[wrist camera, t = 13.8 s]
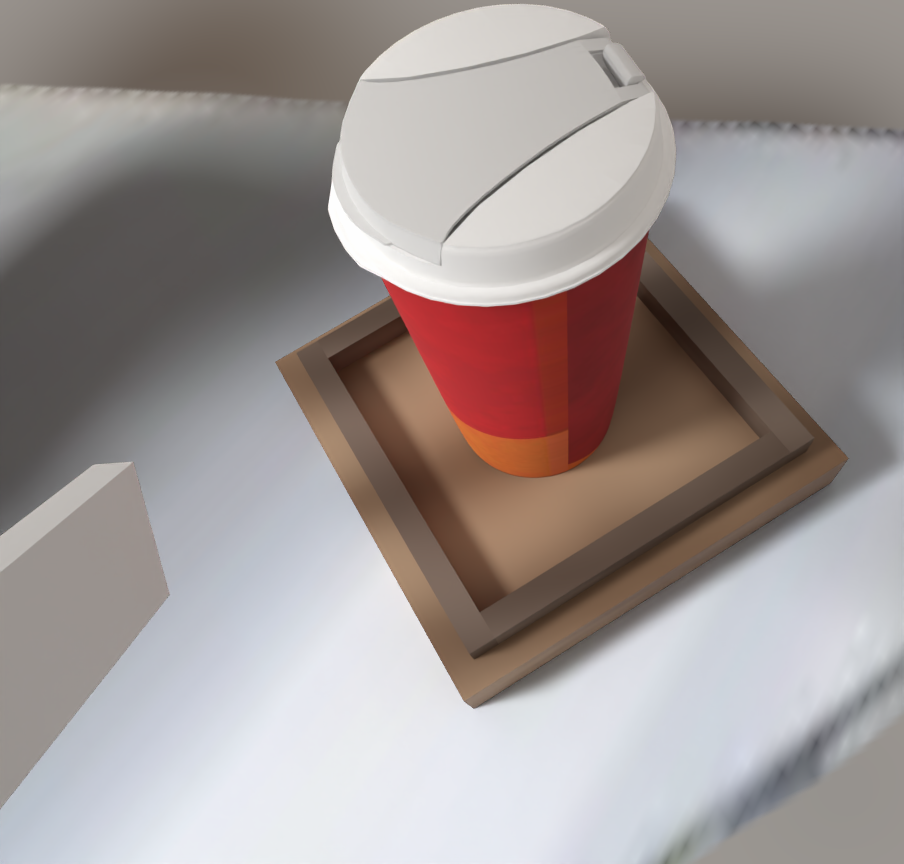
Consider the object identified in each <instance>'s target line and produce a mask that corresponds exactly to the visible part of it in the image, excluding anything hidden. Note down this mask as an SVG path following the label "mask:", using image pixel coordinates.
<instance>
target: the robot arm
mask: <svg viewBox="0 0 904 864" xmlns="http://www.w3.org/2000/svg"><path fill="white" fill-rule="evenodd" d="M169 595H170V594H169V590H168V587H167V583H166V579H165V576H164V572H163V568H162V565H161V561H160V557H159V554H158V550H157V546H156V543H155V539H154V535H153V532H152V528H151V524H150V521H149V517H148V513H147V510H146V506H145V502H144V499H143V495H142V491H141V488H140V484H139V480H138V477H137V473H136V469H135V466H134V462H123V463H108V464H94V465H93V466H91V467H90V468H89V469H87V470H86V471H85V472H83V473H82V474H81V475H79V476H78V477H77V478H75V479H74V480H73V481H72V482H70V483H69V484H68V485H66V486H65V487H64V488H62V489H61V490H60V491H58V492H57V493H56V494H55V495H53V496H52V497H51V498H49V499H48V500H47V501H45V502H44V503H43V504H41V505H40V506H39V507H38V508H36V509H35V510H34V511H32V512H31V513H30V514H28V515H27V516H26V517H24V518H23V519H22V520H21V521H19V522H18V523H17V524H15V525H14V526H13V527H11V528H10V529H9V530H7V531H6V532H5V533H4V534H2V535H1V536H0V809H1V808H2V806H3V805H4V804H5V803H6V801H7V800H8V799H9V797H10V796H11V795H12V794H13V792H14V791H15V790H16V789H17V787H18V786H19V785H20V784H21V782H22V781H23V780H24V779H25V777H26V776H27V775H28V773H29V772H30V771H31V770H32V768H33V767H34V766H35V765H36V763H37V762H38V761H39V760H40V758H41V757H42V756H43V754H44V753H45V752H46V751H47V749H48V748H49V747H50V746H51V744H52V743H53V742H54V741H55V739H56V738H57V737H58V736H59V734H60V733H61V732H62V730H63V729H64V728H65V727H66V725H67V724H68V723H69V722H70V720H71V719H72V718H73V717H74V715H75V714H76V713H77V711H78V710H79V709H80V708H81V706H82V705H83V704H84V703H85V701H86V700H87V699H88V698H89V696H90V695H91V694H92V693H93V691H94V690H95V689H96V687H97V686H98V685H99V684H100V682H101V681H102V680H103V679H104V677H105V676H106V675H107V674H108V672H109V671H110V670H111V668H112V667H113V666H114V665H115V663H116V662H117V661H118V660H119V658H120V657H121V656H122V655H123V653H124V652H125V651H126V650H127V648H128V647H129V646H130V644H131V643H132V642H133V641H134V639H135V638H136V637H137V636H138V634H139V633H140V632H141V631H142V629H143V628H144V627H145V625H146V624H147V623H148V622H149V620H150V619H151V618H152V617H153V615H154V614H155V613H156V612H157V610H158V609H159V608H160V607H161V605H162V604H163V603H164V601H165V600H166V599H167V598H168V596H169Z"/></svg>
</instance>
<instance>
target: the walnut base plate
mask: <svg viewBox="0 0 904 864" xmlns="http://www.w3.org/2000/svg"><path fill="white" fill-rule="evenodd" d="M275 363H276V364H277V366H278V368H279V370H280V372H281V373H282V375H283V377H284V379H285V381H286V382H287V384H288V386H289V388H290V390H291V391H292V393H293V395H294V397H295V399H296V400H297V402H298V404H299V406H300V408H301V409H302V411H303V413H304V415H305V417H306V418H307V420H308V422H309V424H310V425H311V427H312V429H313V431H314V433H315V434H316V436H317V438H318V440H319V442H320V443H321V445H322V447H323V449H324V451H325V452H326V454H327V456H328V458H329V460H330V461H331V463H332V465H333V467H334V469H335V470H336V472H337V474H338V476H339V478H340V479H341V481H342V483H343V485H344V487H345V488H346V490H347V492H348V494H349V496H350V497H351V499H352V501H353V503H354V505H355V506H356V508H357V510H358V512H359V514H360V515H361V517H362V519H363V521H364V523H365V524H366V526H367V528H368V530H369V532H370V533H371V535H372V537H373V539H374V541H375V542H376V544H377V546H378V548H379V549H380V551H381V553H382V555H383V557H384V558H385V560H386V562H387V564H388V566H389V567H390V569H391V571H392V573H393V575H394V576H395V578H396V580H397V582H398V584H399V585H400V587H401V589H402V591H403V593H404V594H405V596H406V598H407V600H408V602H409V603H410V605H411V607H412V609H413V611H414V612H415V614H416V616H417V618H418V620H419V621H420V623H421V625H422V627H423V629H424V630H425V632H426V634H427V636H428V638H429V639H430V641H431V643H432V645H433V647H434V648H435V650H436V652H437V654H438V656H439V657H440V659H441V661H442V663H443V665H444V666H445V668H446V670H447V672H448V674H449V675H450V677H451V679H452V681H453V682H454V684H455V686H456V688H457V690H458V691H459V693H460V695H461V697H462V699H463V700H464V702H466V703H467V704H468V705H470V706H471V707H472V708H476V707H477V706H479V705H481V704H482V703H484V702H485V701H487V700H489V699H490V698H492V697H493V696H495V695H496V694H498V693H500V692H501V691H503V690H504V689H506V688H508V687H509V686H511V685H512V684H514V683H515V682H517V681H519V680H520V679H522V678H523V677H525V676H526V675H528V674H530V673H531V672H533V671H534V670H536V669H538V668H539V667H541V666H542V665H544V664H545V663H547V662H549V661H550V660H552V659H553V658H555V657H557V656H558V655H560V654H561V653H563V652H564V651H566V650H568V649H569V648H571V647H572V646H574V645H576V644H577V643H579V642H580V641H582V640H583V639H585V638H587V637H588V636H590V635H591V634H593V633H594V632H596V631H598V630H599V629H601V628H602V627H604V626H606V625H607V624H609V623H610V622H612V621H613V620H615V619H617V618H618V617H620V616H621V615H623V614H625V613H626V612H628V611H629V610H631V609H632V608H634V607H636V606H637V605H639V604H640V603H642V602H643V601H645V600H647V599H648V598H650V597H651V596H653V595H655V594H656V593H658V592H659V591H661V590H662V589H664V588H666V587H667V586H669V585H670V584H672V583H674V582H675V581H677V580H678V579H680V578H681V577H683V576H685V575H686V574H688V573H689V572H691V571H693V570H694V569H696V568H697V567H699V566H700V565H702V564H704V563H705V562H707V561H708V560H710V559H711V558H713V557H715V556H716V555H718V554H719V553H721V552H723V551H724V550H726V549H727V548H729V547H730V546H732V545H734V544H735V543H737V542H738V541H740V540H742V539H743V538H745V537H746V536H748V535H749V534H751V533H753V532H754V531H756V530H757V529H759V528H760V527H762V526H764V525H765V524H767V523H768V522H770V521H772V520H773V519H775V518H776V517H778V516H779V515H781V514H783V513H784V512H786V511H787V510H789V509H791V508H792V507H794V506H795V505H797V504H798V503H800V502H802V501H803V500H805V499H806V498H808V497H810V496H811V495H813V494H814V493H816V492H817V491H819V490H821V489H822V488H824V487H825V486H827V485H828V484H830V483H831V482H832V481H833V479H834V478H835V476H836V475H837V474H838V472H839V471H840V470H841V468H842V467H843V466H844V464H845V463H846V462H847V460H848V459H849V458H848V457H847V456H846V455H845V454H844V453H843V452H842V451H841V449H840V448H839V447H838V446H837V445H836V444H835V443H834V442H833V441H832V440H831V438H830V437H829V436H828V435H827V434H826V433H825V432H824V431H823V430H822V429H821V428H820V426H819V425H818V424H817V423H816V422H815V421H814V420H813V419H812V418H811V417H810V415H809V414H808V413H807V412H806V411H805V410H804V409H803V408H802V407H801V406H800V404H799V403H798V402H797V401H796V400H795V399H794V398H793V397H792V396H791V395H790V394H789V392H788V391H787V390H786V389H785V388H784V387H783V386H782V385H781V384H780V383H779V381H778V380H777V379H776V378H775V377H774V376H773V375H772V374H771V373H770V372H769V370H768V369H767V368H766V367H765V366H764V365H763V364H762V363H761V362H760V361H759V360H758V358H757V357H756V356H755V355H754V354H753V353H752V352H751V351H750V350H749V349H748V347H747V346H746V345H745V344H744V343H743V342H742V341H741V340H740V339H739V338H738V336H737V335H736V334H735V333H734V332H733V331H732V330H731V329H730V328H729V327H728V326H727V324H726V323H725V322H724V321H723V320H722V319H721V318H720V317H719V316H718V315H717V313H716V312H715V311H714V310H713V309H712V308H711V307H710V306H709V305H708V304H707V302H706V301H705V300H704V299H703V298H702V297H701V296H700V295H699V294H698V293H697V292H696V290H695V289H694V288H693V287H692V286H691V285H690V284H689V283H688V282H687V281H686V279H685V278H684V277H683V276H682V275H681V274H680V273H679V272H678V271H677V270H676V269H675V267H674V266H673V265H672V264H671V263H670V262H669V261H668V260H667V259H666V258H665V256H664V255H663V254H662V253H661V252H660V251H659V250H658V249H657V248H656V247H655V245H654V244H653V243H652V242H651V241H650V240H649V239H648V238H647V244H646V249H645V254H644V260H643V265H642V270H641V276H640V281H639V286H638V292H637V297H636V303H635V308H634V313H633V319H632V324H631V329H630V334H629V340H628V345H627V350H626V355H625V360H624V366H623V370H622V375H621V380H620V385H619V390H618V395H617V399H616V404H615V408H614V412H613V416H612V419H611V422H610V425H609V428H608V431H607V433H606V435H605V437H604V439H603V440H602V442H601V443H600V445H599V446H598V448H597V449H596V450H595V451H594V452H593V453H592V454H591V455H590V456H589V457H588V458H587V459H586V460H585V461H583V462H582V463H580V464H579V465H577V466H576V467H574V468H572V469H570V470H568V471H566V472H563V473H560V474H557V475H553V476H548V477H541V478H526V477H519V476H514V475H510V474H507V473H504V472H502V471H500V470H498V469H496V468H494V467H492V466H491V465H489V464H488V463H486V462H485V461H484V460H483V459H481V458H480V457H479V456H478V455H477V454H476V453H475V451H474V450H473V449H472V448H471V446H470V445H469V444H468V442H467V441H466V439H465V438H464V436H463V434H462V433H461V431H460V429H459V427H458V426H457V424H456V422H455V420H454V418H453V416H452V415H451V413H450V411H449V409H448V407H447V405H446V403H445V401H444V399H443V397H442V396H441V394H440V392H439V390H438V388H437V386H436V384H435V382H434V380H433V378H432V376H431V374H430V372H429V370H428V368H427V366H426V365H425V363H424V361H423V359H422V357H421V355H420V353H419V351H418V349H417V347H416V345H415V343H414V341H413V339H412V337H411V335H410V333H409V331H408V329H407V327H406V325H405V323H404V321H403V319H402V317H401V315H400V314H399V312H398V310H397V308H396V306H395V304H394V302H393V300H392V298H391V296H388V297H387V298H385V299H383V300H381V301H380V302H378V303H376V304H374V305H373V306H371V307H369V308H368V309H366V310H364V311H362V312H361V313H359V314H357V315H355V316H354V317H352V318H350V319H349V320H347V321H345V322H343V323H342V324H340V325H338V326H336V327H335V328H333V329H331V330H330V331H328V332H326V333H324V334H323V335H321V336H319V337H318V338H316V339H314V340H312V341H311V342H309V343H307V344H305V345H304V346H302V347H300V348H299V349H297V350H295V351H293V352H292V353H290V354H288V355H286V356H285V357H283V358H281V359H280V360H278V361H276V362H275Z"/></svg>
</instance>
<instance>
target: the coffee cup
mask: <svg viewBox="0 0 904 864" xmlns="http://www.w3.org/2000/svg"><path fill="white" fill-rule="evenodd" d="M675 162H676V145H675V137H674V130H673V127H672V124H671V121H670V118H669V116H668V113H667V110H666V108H665V107H664V105H663V103H662V102H661V100H660V98H659V97H658V95H657V93H656V92H655V90H654V89H653V87H652V86H651V85H650V84H649V83H648V82H647V80H646V77H645V75H644V74H643V73H642V71H641V70H640V69H639V67H638V66H637V65H636V63H635V62H634V61H633V59H632V58H631V57H630V55H629V54H628V53H627V51H626V50H625V49H624V47H623V46H622V45H621V44H620V43H613V42H612V40H611V37H610V32H609V30H608V29H606V28H605V26H604V25H601V24H600V23H598V22H596V21H594V20H592V19H590V18H588V17H585V16H582V15H580V14H577V13H574V12H571V11H568V10H564V9H558V8H554V7H550V6H542V5H531V4H501V5H494V6H486V7H479V8H475V9H471V10H467V11H462V12H459V13H455V14H452V15H449V16H447V17H444V18H441V19H438V20H436V21H433V22H431V23H429V24H427V25H425V26H423V27H421V28H419V29H417V30H415V31H413V32H412V33H410V34H409V35H407V36H405V37H404V38H402V39H401V40H399V41H398V42H396V43H395V44H394V45H392V46H391V47H390V48H389V49H387V50H386V51H385V52H384V53H383V54H381V55H380V56H379V57H378V58H377V59H376V60H375V61H374V62H373V63H372V65H371V66H370V67H369V68H368V69H367V70H366V71H365V72H364V73H363V75H362V76H361V78H360V81H358V84H357V86H356V88H355V91H354V93H353V95H352V97H351V100H350V102H349V104H348V107H347V110H346V113H345V116H344V119H343V122H342V128H341V137H340V142H338V143H337V146H336V152H335V157H334V161H333V169H332V184H331V191H330V198H329V204H328V212H329V215H330V218H331V221H332V224H333V227H334V230H335V232H336V234H337V236H338V237H339V239H340V241H341V243H342V245H343V246H344V248H345V250H346V251H347V252H348V253H349V255H350V256H351V257H352V258H353V259H354V260H355V262H356V263H357V264H358V265H359V266H360V267H362V268H364V269H366V270H368V271H370V272H372V273H374V274H376V275H378V276H380V277H381V278H382V280H383V282H384V284H385V286H386V288H387V290H388V292H389V294H390V296H391V298H392V300H393V302H394V304H395V306H396V308H397V310H398V312H399V314H400V315H401V317H402V319H403V321H404V323H405V325H406V327H407V329H408V331H409V333H410V335H411V337H412V339H413V341H414V343H415V345H416V347H417V349H418V351H419V353H420V355H421V357H422V359H423V361H424V363H425V365H426V366H427V368H428V370H429V372H430V374H431V376H432V378H433V380H434V382H435V384H436V386H437V388H438V390H439V392H440V394H441V396H442V397H443V399H444V401H445V403H446V405H447V407H448V409H449V411H450V413H451V415H452V416H453V418H454V420H455V422H456V424H457V426H458V427H459V429H460V431H461V433H462V434H463V436H464V438H465V439H466V441H467V442H468V444H469V445H470V446H471V448H472V449H473V450H474V451H475V453H476V454H477V455H478V456H479V457H480V458H481V459H483V460H484V461H485V462H486V463H488V464H489V465H491V466H492V467H494V468H496V469H498V470H500V471H502V472H504V473H507V474H510V475H514V476H519V477H526V478H541V477H548V476H553V475H557V474H560V473H563V472H566V471H568V470H570V469H572V468H574V467H576V466H577V465H579V464H580V463H582V462H583V461H585V460H586V459H587V458H588V457H589V456H590V455H591V454H592V453H593V452H594V451H595V450H596V449H597V448H598V446H599V445H600V443H601V442H602V440H603V439H604V437H605V435H606V433H607V431H608V428H609V425H610V422H611V419H612V416H613V412H614V408H615V404H616V399H617V395H618V390H619V385H620V380H621V375H622V370H623V366H624V360H625V355H626V350H627V345H628V340H629V334H630V329H631V324H632V319H633V313H634V308H635V303H636V297H637V292H638V286H639V281H640V276H641V270H642V265H643V260H644V254H645V249H646V244H647V238H648V233H649V229H650V228H651V226H652V225H653V224H654V222H655V221H656V220H657V218H658V216H659V214H660V212H661V210H662V208H663V206H664V204H665V202H666V200H667V198H668V196H669V192H670V189H671V185H672V182H673V178H674V174H675Z"/></svg>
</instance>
